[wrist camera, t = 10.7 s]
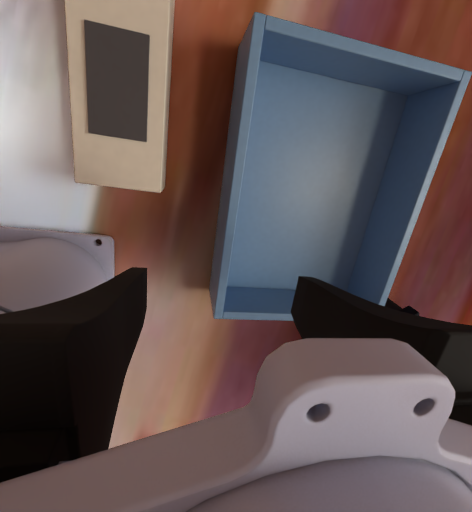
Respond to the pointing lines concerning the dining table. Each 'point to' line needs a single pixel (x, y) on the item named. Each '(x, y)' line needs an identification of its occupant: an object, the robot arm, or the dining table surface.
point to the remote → (120, 90)
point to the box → (324, 165)
